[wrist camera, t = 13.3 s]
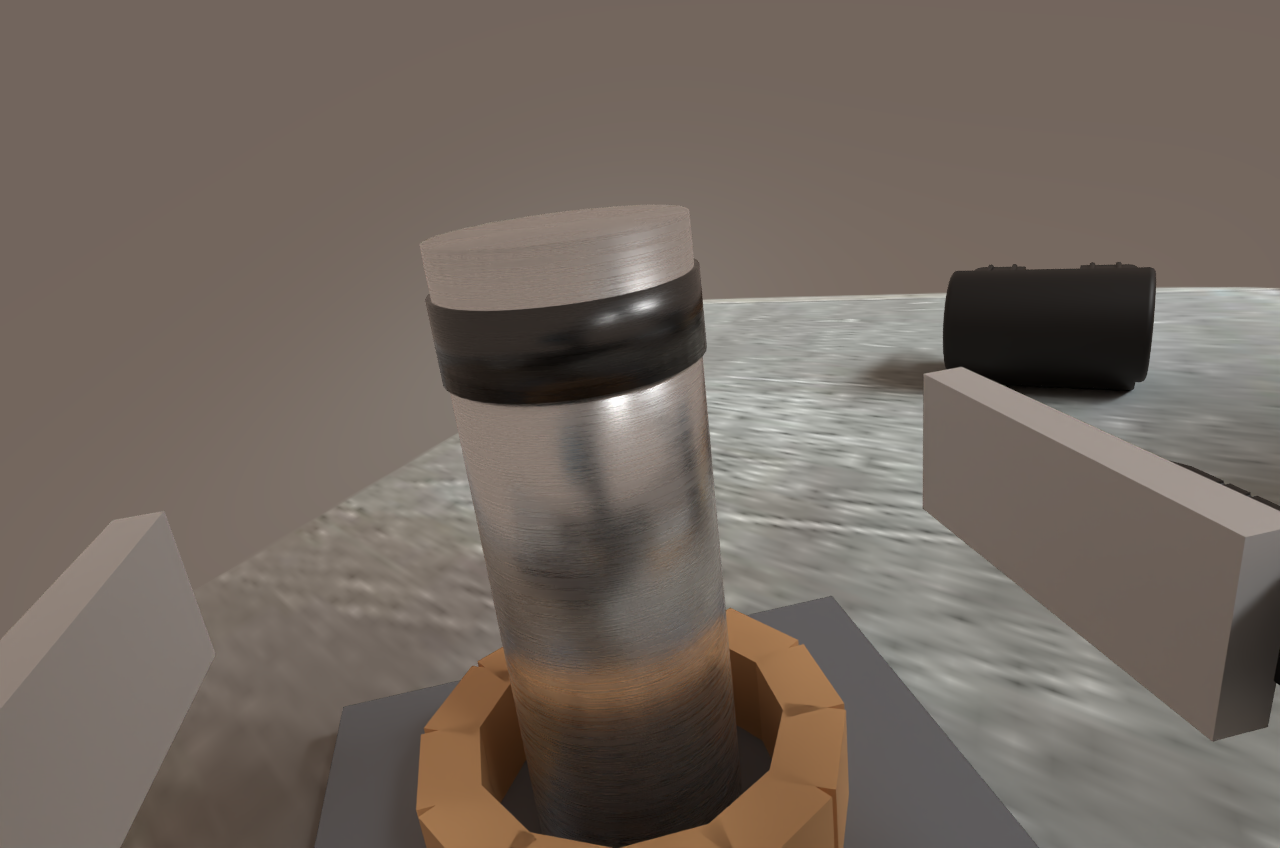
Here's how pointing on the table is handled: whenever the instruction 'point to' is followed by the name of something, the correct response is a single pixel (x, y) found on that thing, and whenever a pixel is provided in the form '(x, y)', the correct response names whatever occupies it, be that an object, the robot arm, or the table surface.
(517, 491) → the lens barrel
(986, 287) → the end cap
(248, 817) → the table surface
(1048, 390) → the table surface
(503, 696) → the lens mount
